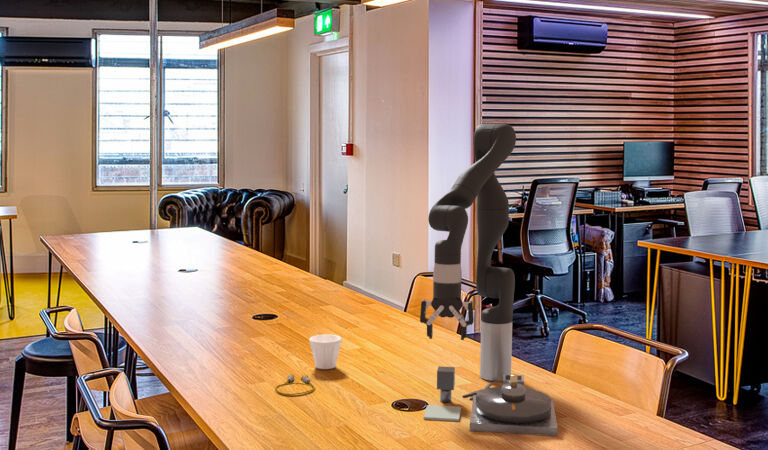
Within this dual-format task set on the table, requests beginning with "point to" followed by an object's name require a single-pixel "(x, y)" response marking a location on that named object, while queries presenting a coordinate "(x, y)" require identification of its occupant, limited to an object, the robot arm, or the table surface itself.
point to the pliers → (479, 390)
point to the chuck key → (445, 382)
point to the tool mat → (442, 413)
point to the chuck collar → (513, 402)
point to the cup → (325, 350)
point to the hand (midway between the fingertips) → (446, 338)
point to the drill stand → (513, 424)
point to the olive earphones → (291, 378)
